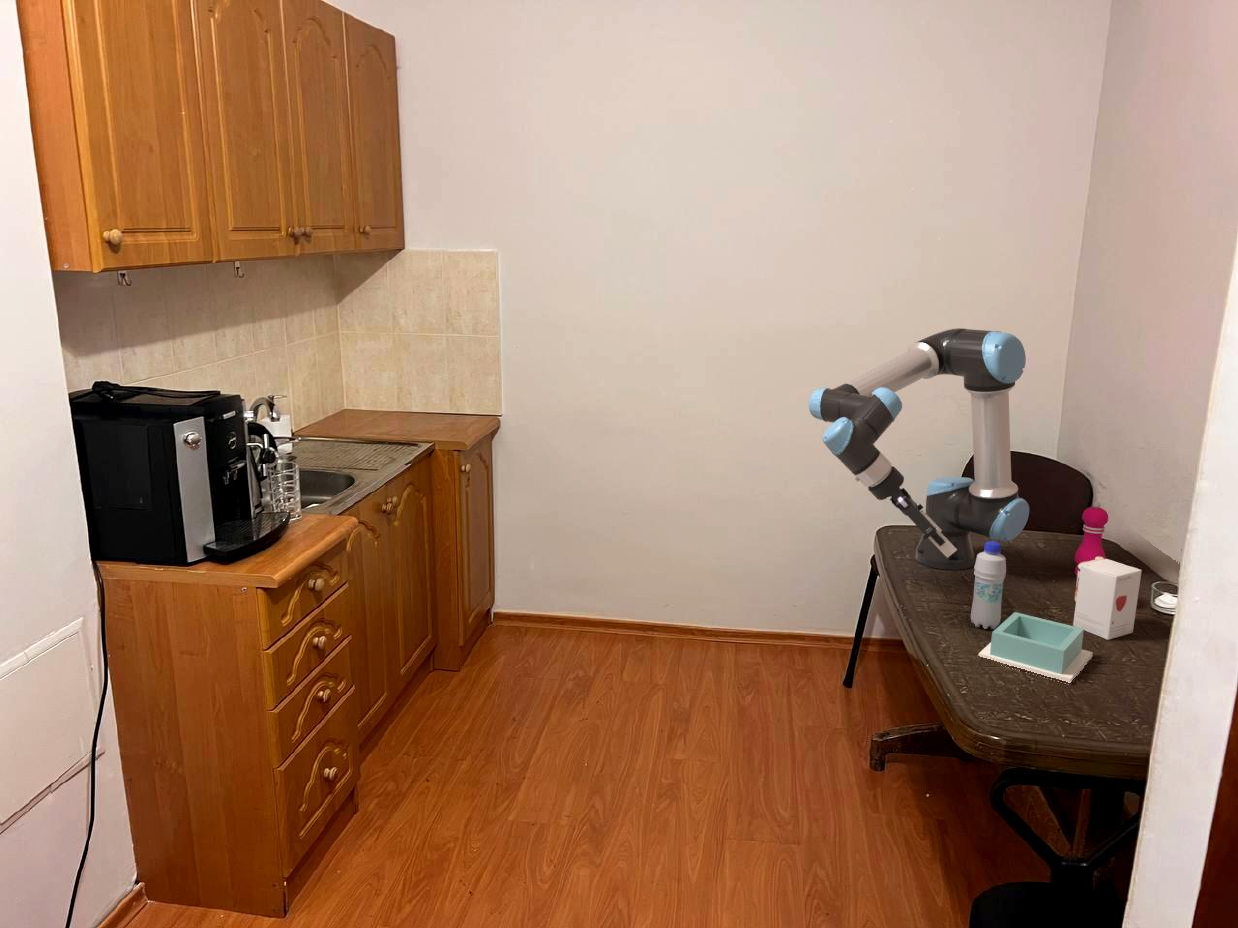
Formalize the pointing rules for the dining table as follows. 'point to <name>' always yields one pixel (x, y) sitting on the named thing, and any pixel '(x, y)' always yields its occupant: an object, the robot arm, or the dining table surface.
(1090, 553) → the magenta tall rounded piece
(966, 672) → the dining table surface
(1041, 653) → the holder
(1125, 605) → the supplement box
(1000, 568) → the bottle
